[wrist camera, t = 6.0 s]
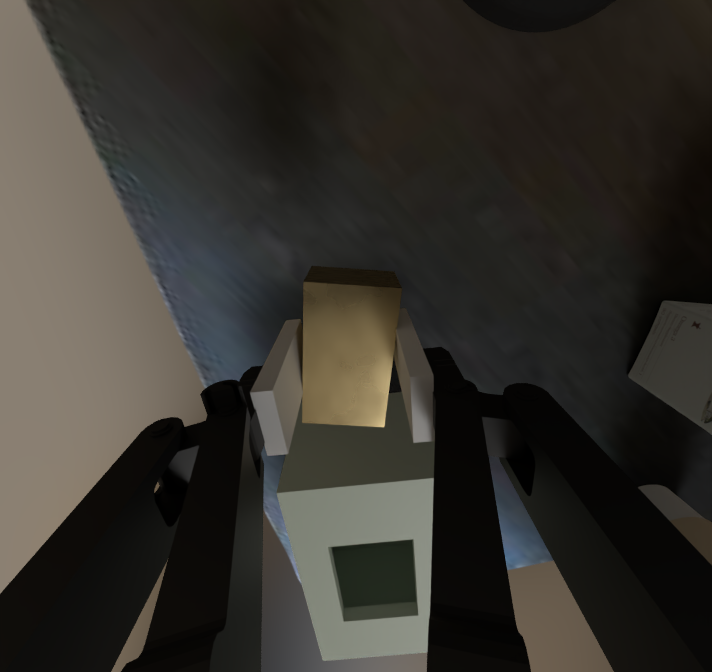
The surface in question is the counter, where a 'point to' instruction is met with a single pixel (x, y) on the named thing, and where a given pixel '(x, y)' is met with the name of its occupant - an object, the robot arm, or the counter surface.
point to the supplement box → (679, 360)
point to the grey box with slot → (362, 533)
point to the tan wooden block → (348, 344)
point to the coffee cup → (682, 518)
